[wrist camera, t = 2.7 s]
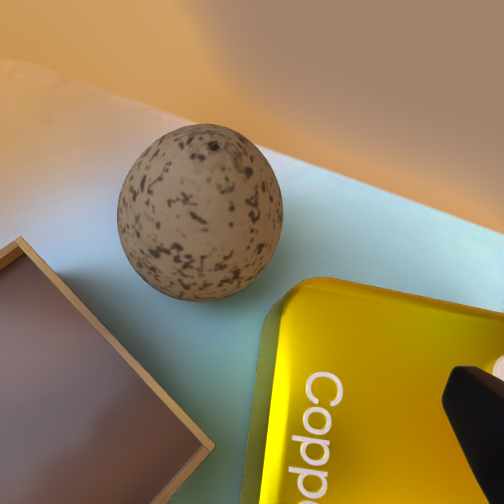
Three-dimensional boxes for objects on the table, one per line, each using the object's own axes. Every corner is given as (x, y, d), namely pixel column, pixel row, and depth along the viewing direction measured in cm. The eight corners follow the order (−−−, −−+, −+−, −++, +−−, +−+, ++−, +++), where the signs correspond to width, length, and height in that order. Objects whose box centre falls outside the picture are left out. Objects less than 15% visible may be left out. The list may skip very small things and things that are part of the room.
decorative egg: (135, 186, 23) (119, 42, 14) (260, 203, 25) (319, 80, 15) (115, 312, 21) (79, 235, 12) (255, 324, 22) (323, 262, 13)
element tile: (265, 291, 23) (290, 262, 18) (510, 339, 25) (586, 324, 20) (218, 641, 17) (238, 720, 13) (541, 667, 19) (655, 744, 15)
